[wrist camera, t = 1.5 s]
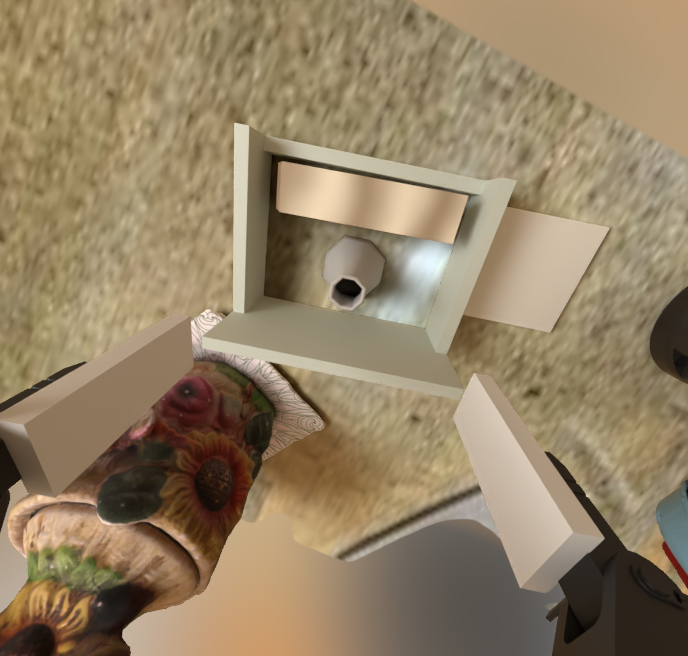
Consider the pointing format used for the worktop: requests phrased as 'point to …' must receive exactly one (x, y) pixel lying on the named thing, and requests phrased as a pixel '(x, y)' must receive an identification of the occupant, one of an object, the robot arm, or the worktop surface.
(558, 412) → the worktop surface
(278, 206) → the light brown wooden block
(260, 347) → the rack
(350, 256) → the flask
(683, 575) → the plastic cup
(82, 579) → the cookie jar
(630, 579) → the robot arm
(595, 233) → the mat
